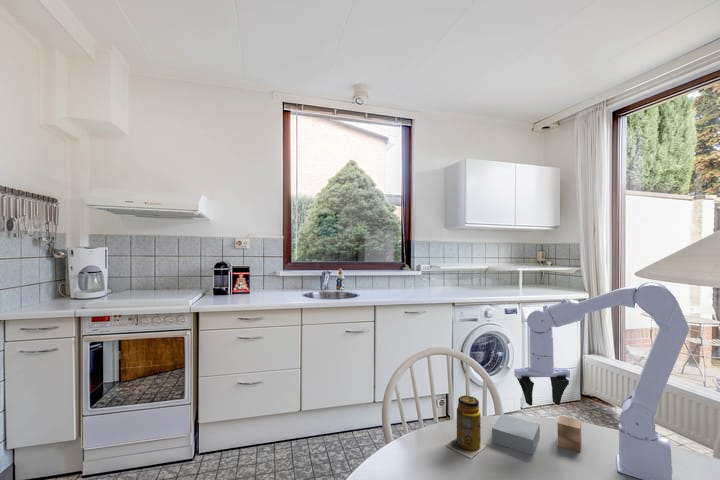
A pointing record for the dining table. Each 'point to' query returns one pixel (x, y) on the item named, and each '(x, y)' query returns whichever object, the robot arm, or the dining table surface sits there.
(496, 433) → the slate box
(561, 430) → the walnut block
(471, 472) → the dining table surface
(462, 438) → the condiment
